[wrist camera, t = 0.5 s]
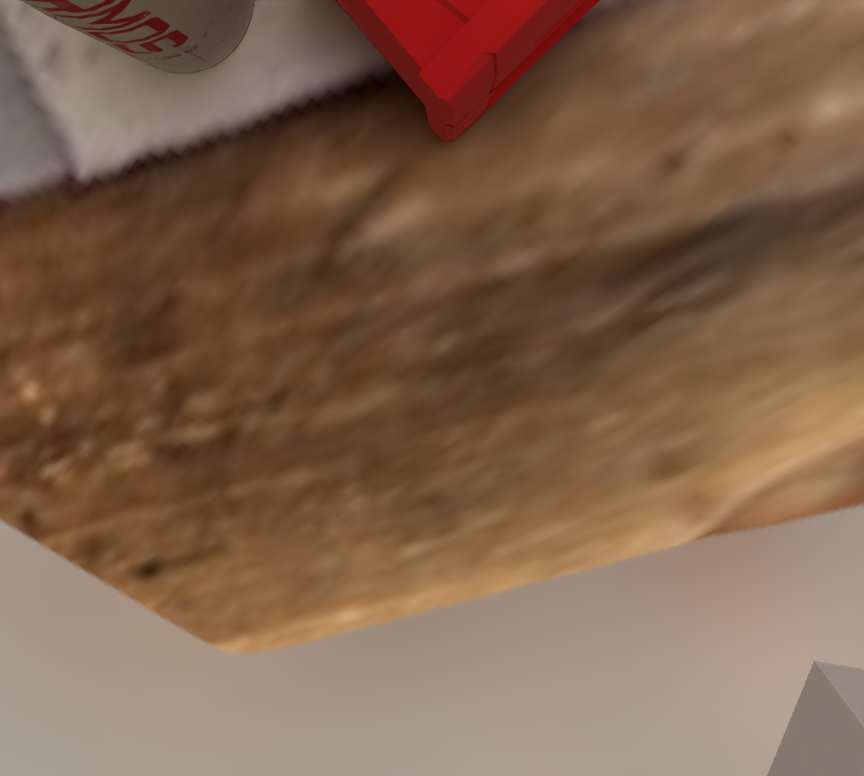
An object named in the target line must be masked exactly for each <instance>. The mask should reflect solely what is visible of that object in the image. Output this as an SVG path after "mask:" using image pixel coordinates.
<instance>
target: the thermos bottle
mask: <svg viewBox="0 0 864 776" xmlns="http://www.w3.org/2000/svg"><path fill="white" fill-rule="evenodd" d="M21 1H23V2H25V3H27V4H29V5H30V6H32V7H34V8H35V9H37V10H38V11H40V12H42V13H44V14H46V15H47V16H49V17H51V18H53V19H55V20H57V21H59V22H61V23H63V24H65V25H67V26H69V27H71V28H74V29H76V30H78V31H80V32H82V33H84V34H86V35H88V36H90V37H92V38H94V39H96V40H99V41H101V42H103V43H105V44H107V45H109V46H111V47H113V48H115V49H117V50H120V51H122V52H124V53H126V54H128V55H130V56H132V57H134V58H136V59H138V60H140V61H142V62H145V63H147V64H149V65H151V66H153V67H155V68H158V69H162V70H165V71H169V72H178V73H190V72H196V71H201V70H204V69H206V68H209V67H211V66H214V65H216V64H217V63H219V62H220V61H221V60H223V59H224V58H226V57H227V56H228V55H229V54H230V53H231V52H232V51H233V50H234V49H235V48H236V46H237V45H238V44H239V42H240V41H241V39H242V37H243V36H244V34H245V32H246V30H247V27H248V24H249V22H250V19H251V16H252V10H253V4H254V0H21Z"/></svg>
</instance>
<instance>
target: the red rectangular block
mask: <svg viewBox="0 0 864 776" xmlns="http://www.w3.org/2000/svg"><path fill="white" fill-rule="evenodd" d="M336 1H337V2H338V3H339V4H340V5H341V7H342V8H343V9H344V10H345V11H346V13H347V14H348V15H349V16H350V17H351V18H352V20H353V21H354V22H355V23H356V24H357V26H358V27H359V28H360V29H361V30H362V31H363V33H364V34H365V35H366V36H367V37H368V39H369V40H370V41H371V42H372V43H373V45H374V46H375V47H376V48H377V49H378V50H379V52H380V53H381V54H382V55H383V56H384V58H385V59H386V60H387V61H388V62H389V63H390V65H391V66H392V67H393V68H394V69H395V71H396V72H397V73H398V74H399V75H400V76H401V78H402V79H403V80H404V81H405V82H406V84H407V85H408V86H409V87H410V88H411V90H412V91H413V92H414V93H415V94H416V95H417V97H418V98H419V99H420V100H421V101H422V103H423V104H424V105H425V107H426V112H427V117H428V122H429V127H430V128H431V129H432V130H433V131H434V132H435V134H436V135H437V136H438V137H439V138H440V140H442V141H446V142H453V141H454V140H455V139H456V138H457V137H458V136H459V135H461V134H462V133H463V132H464V131H465V130H466V129H467V128H468V127H470V126H471V125H472V124H473V123H474V122H475V121H476V120H477V119H478V118H480V117H481V116H482V113H484V112H485V111H486V110H487V109H488V108H489V107H490V106H491V105H492V104H493V103H494V102H495V101H496V100H497V99H498V98H499V97H500V96H501V95H502V94H503V93H504V92H505V91H506V90H507V89H508V88H509V87H510V86H511V85H512V84H513V83H514V82H515V81H516V80H517V79H518V78H519V77H520V76H521V75H522V74H524V73H525V72H526V71H527V70H528V69H529V68H530V67H531V66H532V65H533V64H534V63H535V62H536V61H537V60H538V59H539V58H540V57H541V56H542V55H543V54H544V53H545V52H546V51H547V50H549V49H550V48H551V47H552V46H553V45H554V44H555V43H556V42H557V41H558V40H559V39H560V38H561V37H562V36H563V35H564V34H565V33H566V32H567V31H568V30H569V29H570V28H571V27H572V26H574V25H575V24H576V23H577V22H578V21H579V20H580V19H581V18H582V17H583V16H584V15H585V14H586V13H587V12H588V11H589V10H590V9H591V8H592V7H593V6H594V5H595V4H596V3H597V2H599V1H600V0H336ZM446 125H449V126H446ZM450 126H453V127H454V128H453V127H450Z"/></svg>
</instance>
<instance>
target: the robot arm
mask: <svg viewBox="0 0 864 776" xmlns="http://www.w3.org/2000/svg"><path fill="white" fill-rule="evenodd" d="M768 776H864V670H863V669H860V668H854V667H848V666H842V665H835V664H830V663H823V662H817V661H814V663H813V665H812V668H811V670H810V673H809V675H808V677H807V680H806V682H805V685H804V687H803V690H802V692H801V695H800V697H799V700H798V702H797V704H796V707H795V709H794V712H793V714H792V717H791V719H790V721H789V724H788V726H787V729H786V732H785V734H784V736H783V739H782V741H781V744H780V746H779V748H778V751H777V754H776V756H775V758H774V761H773V763H772V766H771V768H770V771H769V773H768Z"/></svg>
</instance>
